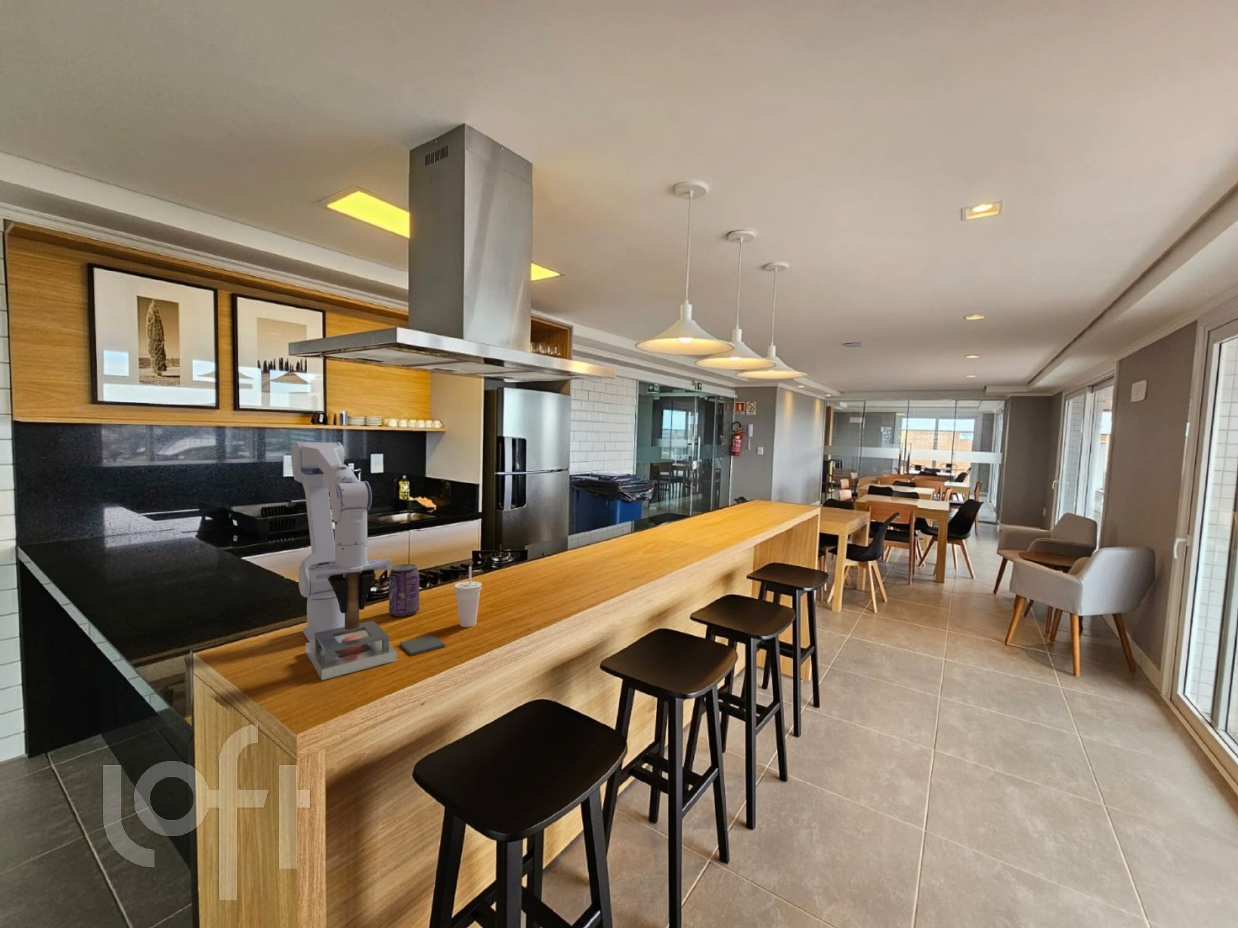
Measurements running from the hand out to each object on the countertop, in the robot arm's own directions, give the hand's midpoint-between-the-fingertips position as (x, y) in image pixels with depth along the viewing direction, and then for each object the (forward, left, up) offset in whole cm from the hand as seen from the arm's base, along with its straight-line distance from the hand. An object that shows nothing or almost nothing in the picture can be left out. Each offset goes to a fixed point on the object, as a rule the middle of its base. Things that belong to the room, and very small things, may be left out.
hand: (352, 610), depth 99 cm
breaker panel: (-2, 0, -10) cm, 10 cm away
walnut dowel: (0, 0, -3) cm, 3 cm away
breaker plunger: (0, 0, -8) cm, 8 cm away
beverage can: (-22, +17, -10) cm, 29 cm away
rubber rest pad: (+2, +13, -10) cm, 17 cm away
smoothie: (-4, +26, -10) cm, 28 cm away
